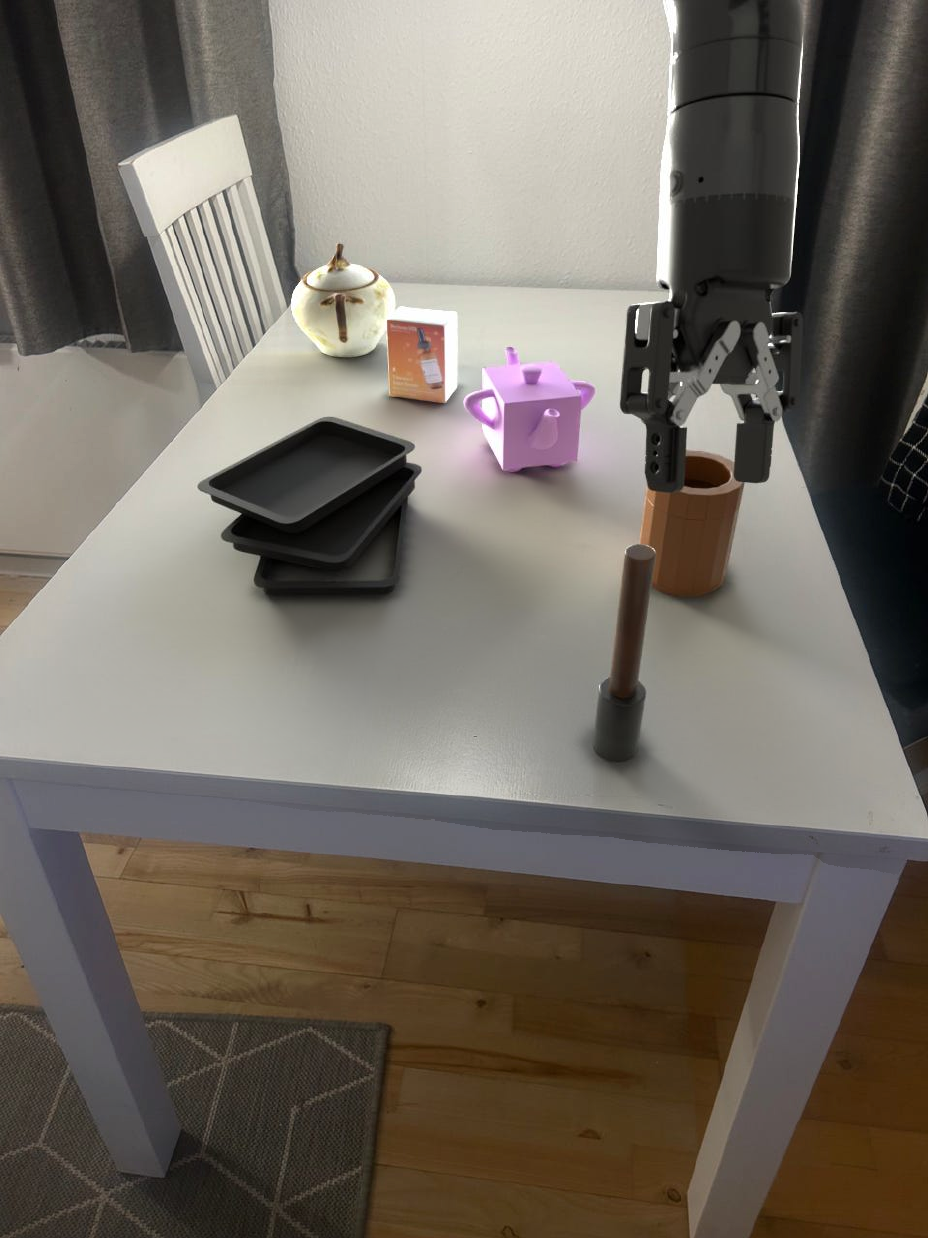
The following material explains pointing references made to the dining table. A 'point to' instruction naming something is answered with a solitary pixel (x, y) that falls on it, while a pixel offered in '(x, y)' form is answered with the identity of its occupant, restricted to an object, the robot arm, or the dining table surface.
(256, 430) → the dining table surface
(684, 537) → the brown cylindrical holder
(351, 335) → the sugar bowl
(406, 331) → the small box
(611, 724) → the brush
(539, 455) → the teapot
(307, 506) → the tray
